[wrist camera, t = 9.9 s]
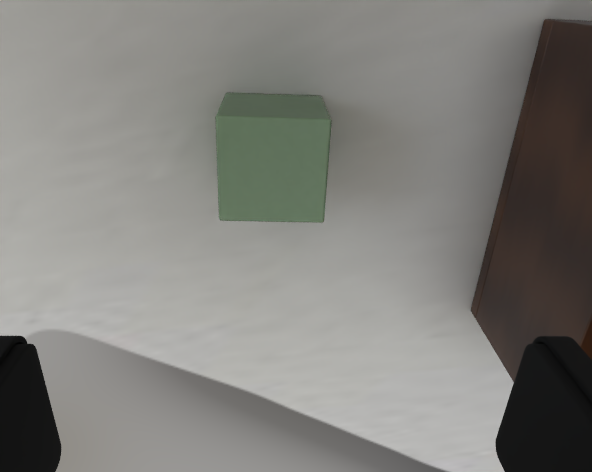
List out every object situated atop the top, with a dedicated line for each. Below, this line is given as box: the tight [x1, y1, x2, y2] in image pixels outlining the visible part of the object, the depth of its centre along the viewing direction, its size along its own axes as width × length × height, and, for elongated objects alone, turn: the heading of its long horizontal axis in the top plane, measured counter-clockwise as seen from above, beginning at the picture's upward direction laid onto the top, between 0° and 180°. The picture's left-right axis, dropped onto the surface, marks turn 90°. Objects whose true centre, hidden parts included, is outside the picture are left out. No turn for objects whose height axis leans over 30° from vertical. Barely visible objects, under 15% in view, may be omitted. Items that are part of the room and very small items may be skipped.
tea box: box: [216, 93, 331, 222], centre depth 21 cm, size 4×4×4 cm
